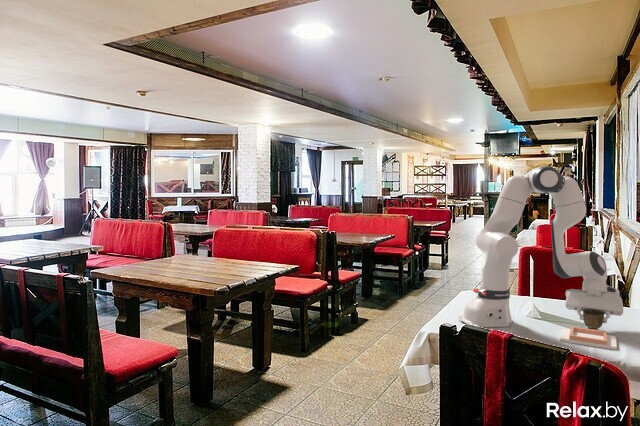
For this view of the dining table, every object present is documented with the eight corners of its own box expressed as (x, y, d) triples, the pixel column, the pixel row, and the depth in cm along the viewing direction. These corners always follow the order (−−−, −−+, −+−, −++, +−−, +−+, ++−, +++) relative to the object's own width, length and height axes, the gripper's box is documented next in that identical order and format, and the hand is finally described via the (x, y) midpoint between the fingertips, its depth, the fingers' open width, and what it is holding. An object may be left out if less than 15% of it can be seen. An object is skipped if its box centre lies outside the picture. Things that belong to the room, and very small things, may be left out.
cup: (584, 326, 189) (584, 307, 188) (604, 330, 184) (605, 311, 184) (580, 331, 183) (581, 312, 183) (602, 335, 179) (602, 315, 178)
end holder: (616, 349, 164) (616, 343, 164) (560, 341, 174) (560, 334, 173) (615, 338, 175) (615, 332, 175) (562, 330, 185) (562, 324, 184)
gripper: (565, 284, 194) (563, 313, 186) (623, 290, 183) (623, 320, 176) (566, 292, 198) (563, 320, 191) (622, 298, 187) (622, 328, 180)
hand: (593, 320), depth 183 cm, fingers closed on cup, 6 cm apart
